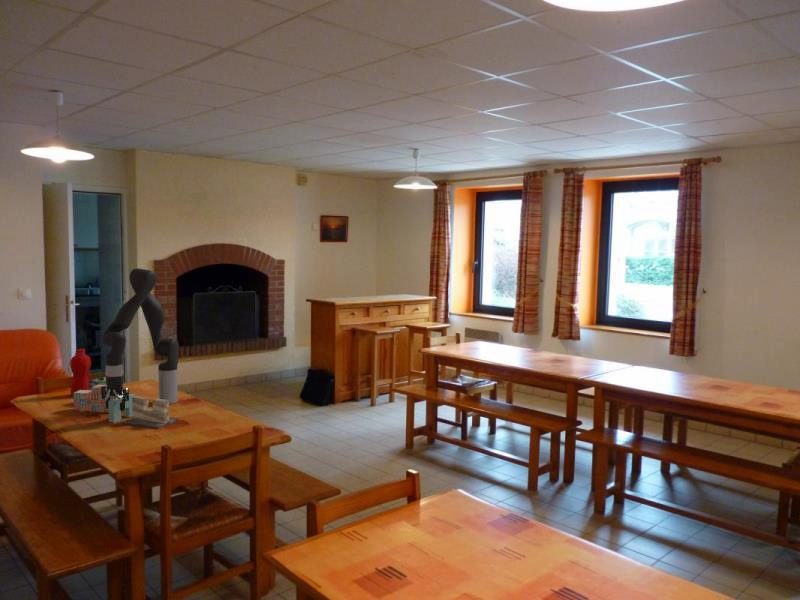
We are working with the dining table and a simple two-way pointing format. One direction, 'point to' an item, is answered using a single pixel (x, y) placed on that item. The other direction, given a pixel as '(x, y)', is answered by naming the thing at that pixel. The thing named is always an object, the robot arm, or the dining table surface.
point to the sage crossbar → (115, 408)
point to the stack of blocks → (90, 400)
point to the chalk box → (97, 381)
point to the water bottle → (80, 371)
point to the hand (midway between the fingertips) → (115, 409)
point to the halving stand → (150, 413)
